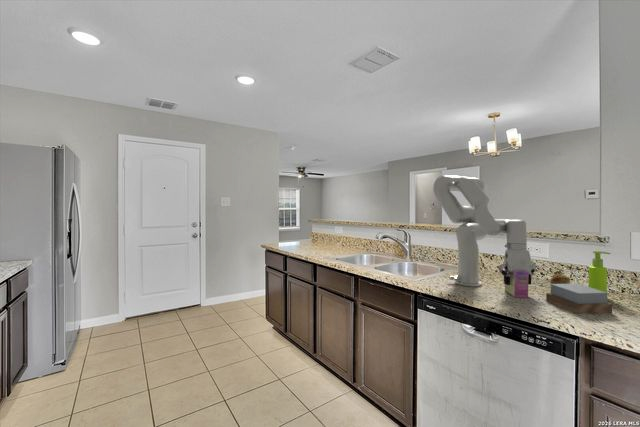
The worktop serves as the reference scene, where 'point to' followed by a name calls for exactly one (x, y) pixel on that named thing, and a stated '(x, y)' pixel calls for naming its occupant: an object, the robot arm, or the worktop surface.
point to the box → (518, 283)
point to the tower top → (579, 293)
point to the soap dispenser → (598, 273)
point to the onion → (559, 278)
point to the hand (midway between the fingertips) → (517, 284)
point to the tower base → (579, 305)
